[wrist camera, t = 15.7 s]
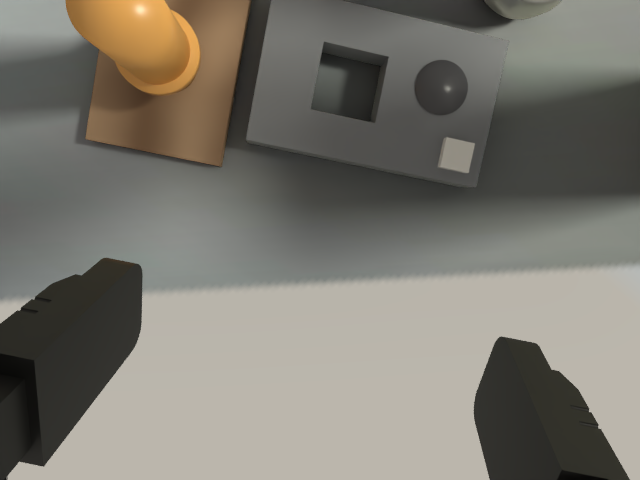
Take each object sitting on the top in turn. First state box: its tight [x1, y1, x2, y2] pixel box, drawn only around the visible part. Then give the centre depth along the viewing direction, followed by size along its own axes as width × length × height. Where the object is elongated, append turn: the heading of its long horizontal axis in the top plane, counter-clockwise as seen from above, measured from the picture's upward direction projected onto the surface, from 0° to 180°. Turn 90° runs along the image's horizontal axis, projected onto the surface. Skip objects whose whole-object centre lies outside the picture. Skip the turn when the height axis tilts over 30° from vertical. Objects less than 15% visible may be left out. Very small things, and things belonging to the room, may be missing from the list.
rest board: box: [85, 0, 252, 167], centre depth 33 cm, size 9×12×1 cm
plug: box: [66, 0, 201, 96], centre depth 27 cm, size 5×5×11 cm
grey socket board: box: [246, 0, 509, 188], centre depth 33 cm, size 16×10×3 cm, turn 79°
